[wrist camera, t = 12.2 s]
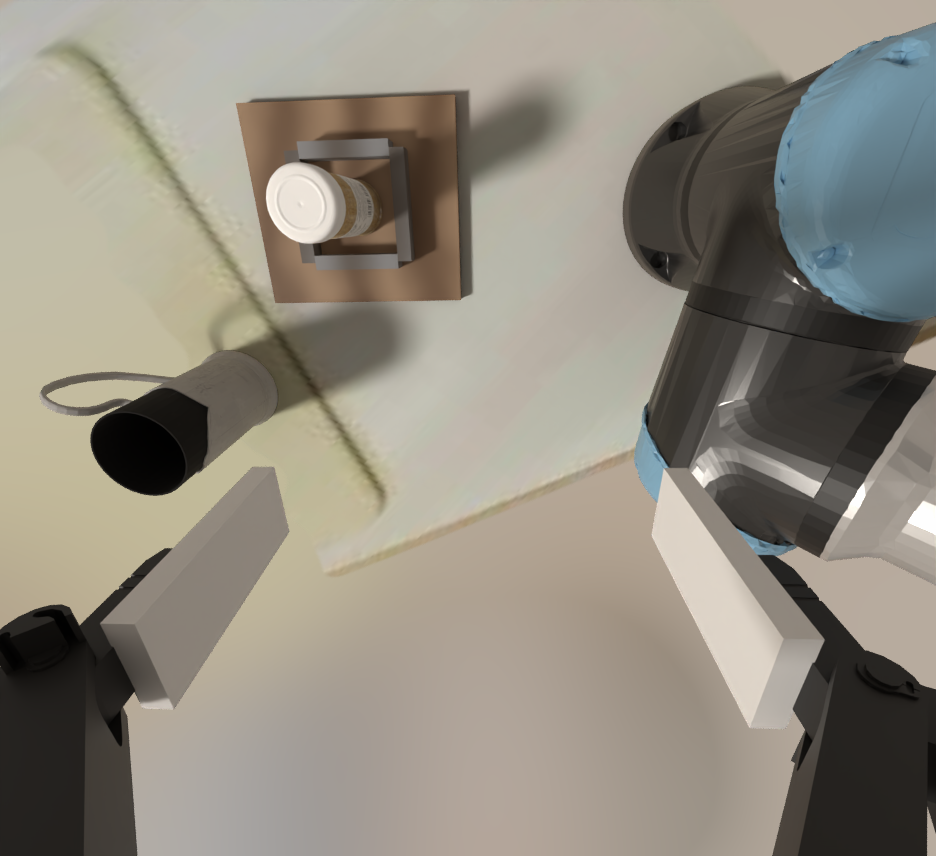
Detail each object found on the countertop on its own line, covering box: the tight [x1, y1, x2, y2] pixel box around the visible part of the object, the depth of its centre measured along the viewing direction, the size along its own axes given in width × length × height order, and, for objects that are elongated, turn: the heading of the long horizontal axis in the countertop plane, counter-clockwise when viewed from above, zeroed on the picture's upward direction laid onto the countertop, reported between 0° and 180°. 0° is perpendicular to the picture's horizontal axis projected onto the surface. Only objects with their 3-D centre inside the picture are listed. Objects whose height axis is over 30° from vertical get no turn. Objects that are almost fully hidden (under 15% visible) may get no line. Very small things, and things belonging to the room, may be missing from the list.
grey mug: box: [40, 350, 278, 496], centre depth 41 cm, size 9×14×15 cm, turn 64°
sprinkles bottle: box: [266, 162, 383, 244], centre depth 33 cm, size 5×5×13 cm
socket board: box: [236, 94, 461, 303], centre depth 39 cm, size 18×16×3 cm
